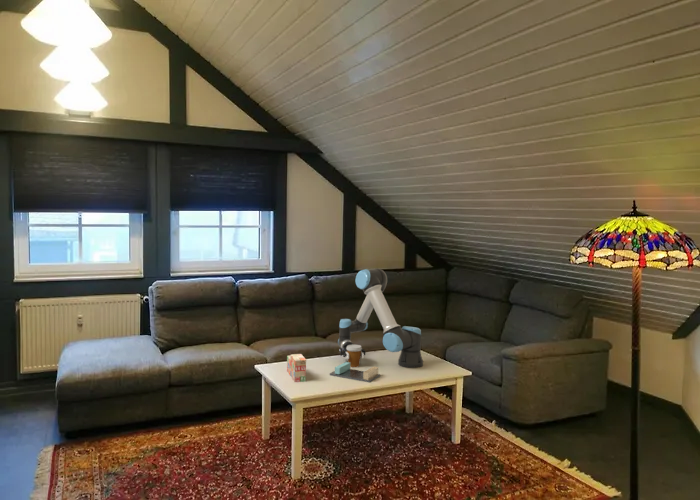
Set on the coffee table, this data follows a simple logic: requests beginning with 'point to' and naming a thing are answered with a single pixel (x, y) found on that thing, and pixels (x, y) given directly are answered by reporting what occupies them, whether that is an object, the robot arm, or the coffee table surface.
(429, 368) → the coffee table surface
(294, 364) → the stack of blocks
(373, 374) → the base
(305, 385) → the coffee table surface
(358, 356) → the disposable coffee cup
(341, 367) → the bar
